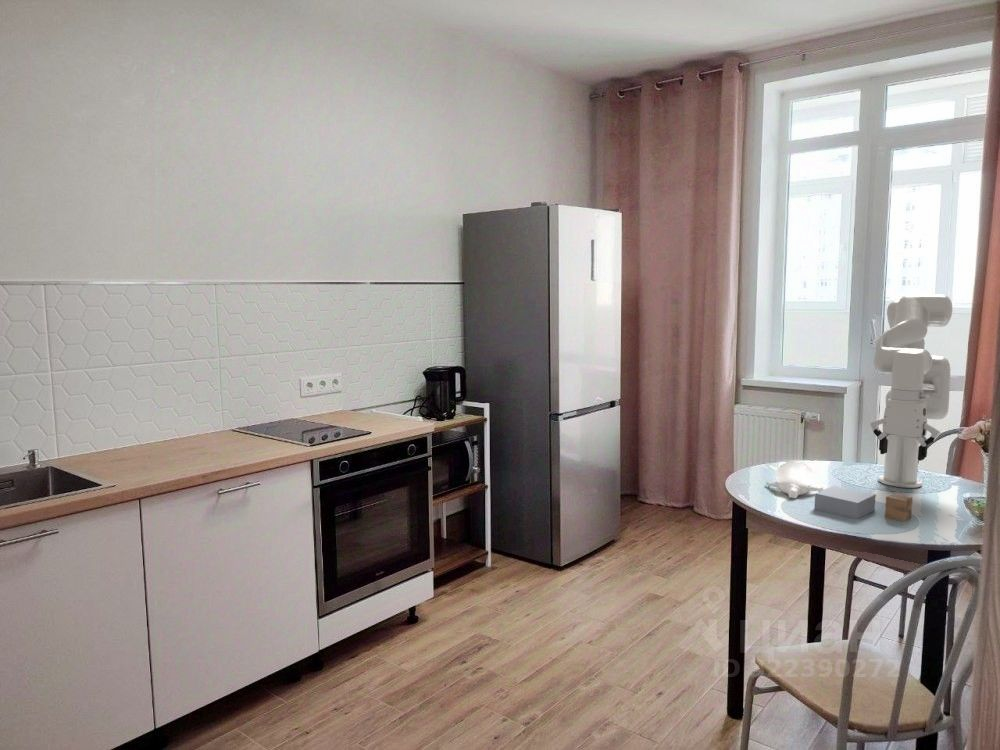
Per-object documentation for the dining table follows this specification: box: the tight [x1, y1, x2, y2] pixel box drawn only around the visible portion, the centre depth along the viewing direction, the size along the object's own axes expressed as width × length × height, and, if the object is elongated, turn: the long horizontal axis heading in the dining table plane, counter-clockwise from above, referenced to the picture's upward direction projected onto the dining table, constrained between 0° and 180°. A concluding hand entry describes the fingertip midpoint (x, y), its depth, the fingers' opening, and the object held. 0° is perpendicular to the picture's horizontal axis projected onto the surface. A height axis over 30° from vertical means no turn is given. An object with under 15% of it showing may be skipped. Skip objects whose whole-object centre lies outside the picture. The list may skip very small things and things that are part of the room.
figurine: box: [765, 459, 824, 499], centre depth 224 cm, size 17×9×25 cm
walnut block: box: [884, 492, 913, 523], centre depth 196 cm, size 5×5×6 cm
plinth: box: [813, 485, 877, 520], centre depth 203 cm, size 12×12×5 cm
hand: (902, 456), depth 193 cm, fingers open, 9 cm apart
